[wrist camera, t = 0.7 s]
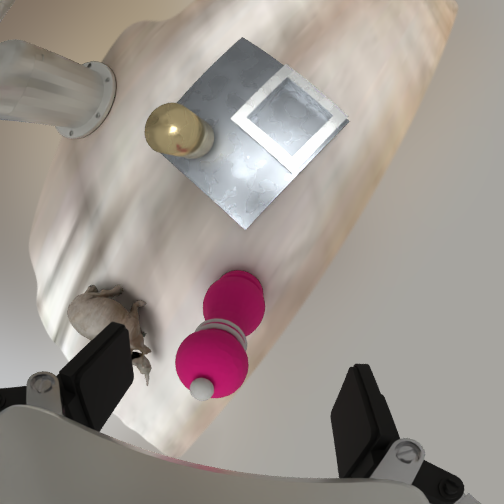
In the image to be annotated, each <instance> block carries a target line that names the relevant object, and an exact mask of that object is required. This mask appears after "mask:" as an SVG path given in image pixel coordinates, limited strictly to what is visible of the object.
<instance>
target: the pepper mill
mask: <svg viewBox="0 0 504 504" xmlns="http://www.w3.org/2000/svg"><path fill="white" fill-rule="evenodd" d="M264 312H265V302H264V298H263V289H262V286H261V284H260V282H259V281H258V279H257V278H256V277H255V276H253V275H252V274H250V273H248V272H245V271H240V270H236V271H231V272H228V273H226V274H225V275H223V276H222V277H221V278H220V279H219V280H218V281H216V282H215V283H213V284H212V285H211V286H210V288H209V289H208V291H207V293H206V295H205V297H204V301H203V315H204V318H205V321H204V322H203V323H201V324H200V325H199V326H198V327H197V329H196V331H195V332H194V333H192V334H190V335H189V336H188V337H187V338H186V339H184V341H183V342H182V343H181V345H180V346H179V348H178V351H177V354H176V360H175V365H176V371H177V374H178V376H179V379H180V380H181V382H182V383H183V384H184V386H185V387H186V388H188V389H189V390H190V393H191V395H192V396H193V397H194V398H195V399H197V400H199V401H205V400H208V399H209V398H221V397H225V396H228V395H230V394H232V393H234V392H235V391H236V390H237V389H238V388H239V387H240V386H241V385H242V384H243V382H244V380H245V378H246V375H247V372H248V357H247V354H246V349H247V340H246V336H248V335H250V334H251V333H252V332H253V331H254V330H255V329H256V328H257V327H258V326H259V324H260V323H261V321H262V318H263V315H264Z"/></svg>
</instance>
